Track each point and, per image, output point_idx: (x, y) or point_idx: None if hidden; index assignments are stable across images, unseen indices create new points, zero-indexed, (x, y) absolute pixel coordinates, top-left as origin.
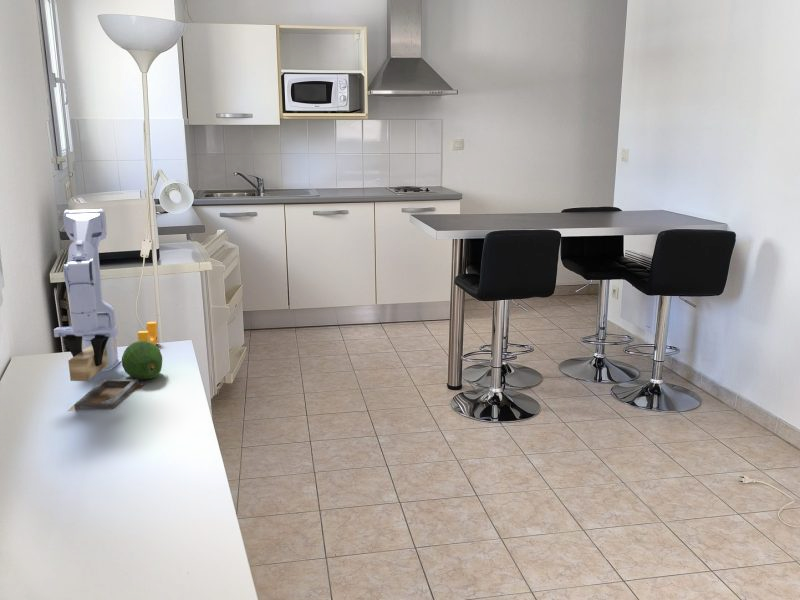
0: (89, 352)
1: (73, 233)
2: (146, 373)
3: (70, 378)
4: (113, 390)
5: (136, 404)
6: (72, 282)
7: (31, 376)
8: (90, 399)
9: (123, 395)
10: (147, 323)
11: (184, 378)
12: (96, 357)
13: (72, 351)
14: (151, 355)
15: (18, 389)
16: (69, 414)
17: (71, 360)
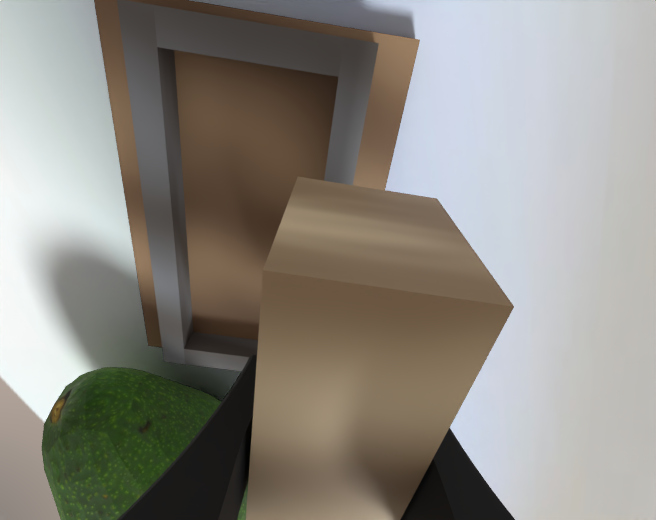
0: (318, 494)
1: None
2: (98, 374)
3: (440, 205)
4: (255, 300)
5: (89, 143)
6: None
7: (589, 464)
8: None
9: (147, 192)
10: None
11: (50, 390)
12: (231, 414)
13: (484, 508)
14: (53, 484)
15: (644, 377)
16: (404, 33)
17: (469, 306)
